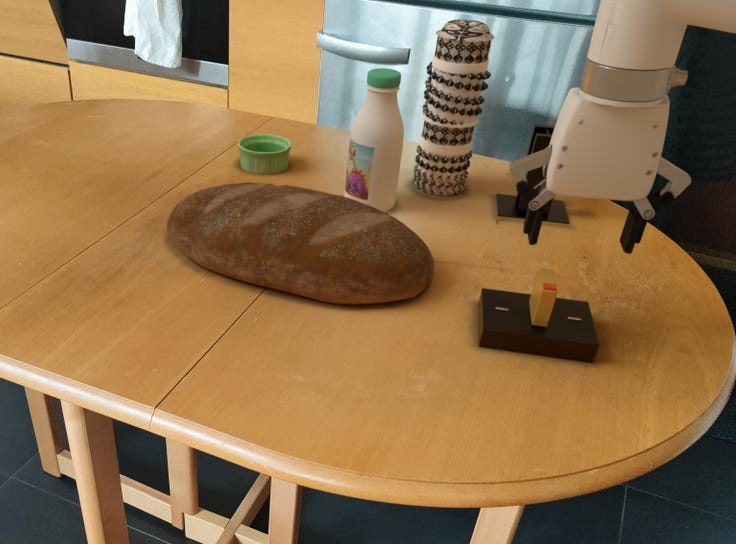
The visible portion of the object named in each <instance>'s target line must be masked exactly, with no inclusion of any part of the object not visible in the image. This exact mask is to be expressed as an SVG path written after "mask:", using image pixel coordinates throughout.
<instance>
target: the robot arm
mask: <svg viewBox="0 0 736 544" xmlns="http://www.w3.org/2000/svg"><path fill="white" fill-rule="evenodd" d="M688 26H693V27H699V28H705V29H711V30H716V31H721V32H726V33H731V34H736V0H600V2H599V6H598V11H597V15H596V18H595V23H594V27H593V31H592V35H591V39H590V41H589V42H590V43H589V47H588V50H587V55H586V58H585V63H584V67H583V70H582V75H581V79H580V83H579V87H577V86H576V87H571V88H570V89H569V91H568V93H567V95H566V97H565V99H564V101H563V104H562V106H561V109H560V110H559V113H558V117H557V120H556V123H555V125H554V126H555V128H554V131H553V134H552V138H551V141H550V144H549V148H546V149H544V150H541V151H538V152H536V153H533V154H530V155H528V156H527V155H525V156H523V157H520V158H517V159H515V160H512V161H511V162H510V163H509V169H510V170H509V172H510V175H511V178H512V180H513V184H514V186H515V189H516V193H517V192H518V193H519V194H520V196H521V197H522V198H523V199H524V201H525V202H526V203H527V204H528V209H527V213H526V217H525V219H524V222H523V226H522V227H523V228H522V232H523V234H524V235H525V234H526V235H527V239H528V240H527V241H528V244H529V245H530V246H536V245H537V244H538V240H539V237H540V233H541V228H542V225H543V221H542V220H543V216H544V209H543V205H544V204H546V203H547V202H548V201H549V200H551V199H552V198H553V199H554V197H556V196H561V197H568V198H569V197H571V198H573V197H574V198H583V199H595V200H606V201H607V200H609V201H623V202H632V203H633V204H634V206H631V209H629V210H628V212H627V214H626V215H627V216H626V218H625V221H624V225H623V228H622V231H621V234H620V237H619V243H620V246H621V249H622V251H623V253H625V254H628V255H629V254H632V253H633V250H634V248H635V245H636V244H640V243H641V241H642V238H643V236H644V233H645V230H646V226H647V224H648V221H649V220H651V219H653V218H654V217H655V215H656V214H657V213H659V212H660V211H661V210H664V209H665V208H667V207H668V206H670V205H672V204H673V203H674V201H675V199H676V198H677V197H678V196H679V195H681V194H682V192H684V191H685V190H686V189H687V187H689V186H690V185H691V183H692V178H691V176H690V175H689V174H688V173H687V172H686V171H685V170H683V169H681V168H680V167H678V166H676V165H675V164H673V163H672V162H670V161H669V160H667V159H665V157H662V153H663V149H664V144H665V140H666V134H667V129H668V122H669V114H670V105H671V104H670V103H671V99H670V97H669V96H668V93H669V91H670V90H671V88H675V87H676V86H681V87H683V86H685V85H686V83H687V80H688V77H689V71H688V70H682V69H680V68H677V66H676V65H675V64H676V61H677V58H678V55H679V53H680V52H679V51H680V49H681V45H682V42H683V39H684V36H685V33H686V29H687V27H688ZM541 166H543V177H545V179H544V180H543V181H541V182H540V183H539V184H538V185H536V186H535V187H534V188H533V187H532V185H531V184H530V183H529V182H528V180H527V179H526V176H525V175H526V173H527V172H528V171H530V170H533V169H536V168H539V167H541ZM657 174H658V175H660V176H661V177H663V178H664V179H666V180H668V182H667V183H666V184H665V186H664V187H663V188H661V189H659V190H657V191H656V192H653V193H652V194H651V195H649V194H650V192H651V191H652V188H653V186H654V183H655V180H656V176H657Z"/></svg>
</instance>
